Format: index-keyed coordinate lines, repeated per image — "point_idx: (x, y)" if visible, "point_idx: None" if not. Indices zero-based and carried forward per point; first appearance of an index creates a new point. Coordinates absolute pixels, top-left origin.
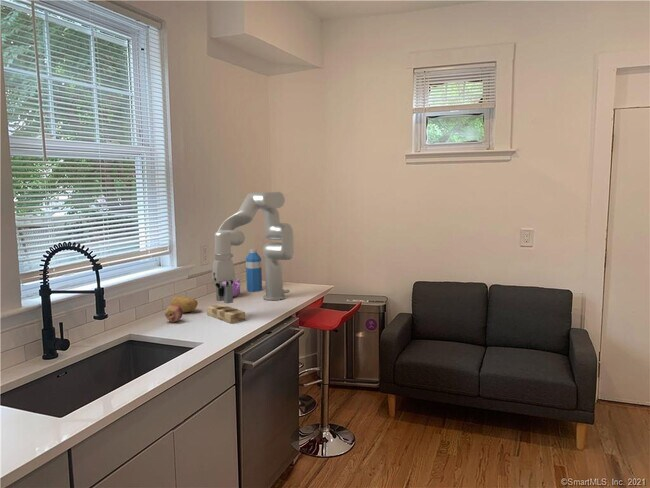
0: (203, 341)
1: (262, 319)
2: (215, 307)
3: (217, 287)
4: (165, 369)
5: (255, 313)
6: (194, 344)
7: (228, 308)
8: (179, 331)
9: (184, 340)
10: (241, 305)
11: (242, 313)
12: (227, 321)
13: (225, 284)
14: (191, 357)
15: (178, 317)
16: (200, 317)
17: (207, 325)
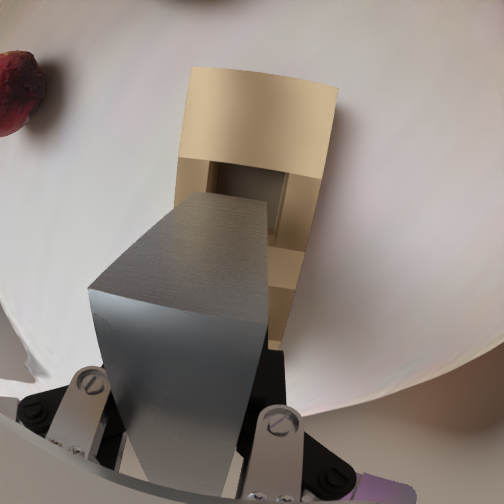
0: (49, 371)
1: (318, 390)
2: (226, 140)
3: (86, 374)
4: (2, 385)
5: (397, 306)
6: (32, 365)
7: (269, 258)
8: (8, 248)
9: (15, 328)
10: (488, 112)
11: None
12: None
13: (222, 446)
14: (28, 394)
15: (13, 132)
16: (143, 103)
17: (93, 275)
